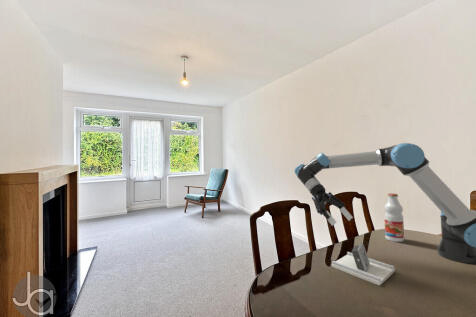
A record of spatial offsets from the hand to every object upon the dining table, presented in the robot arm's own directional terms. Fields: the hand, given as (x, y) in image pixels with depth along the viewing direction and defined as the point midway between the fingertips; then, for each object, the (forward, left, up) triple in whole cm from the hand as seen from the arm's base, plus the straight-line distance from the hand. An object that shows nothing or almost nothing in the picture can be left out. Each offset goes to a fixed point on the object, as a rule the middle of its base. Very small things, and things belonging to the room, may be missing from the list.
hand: (343, 221), depth 103 cm
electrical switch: (-7, -1, -19) cm, 21 cm away
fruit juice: (-4, -53, -20) cm, 57 cm away
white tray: (-7, -1, -20) cm, 21 cm away
